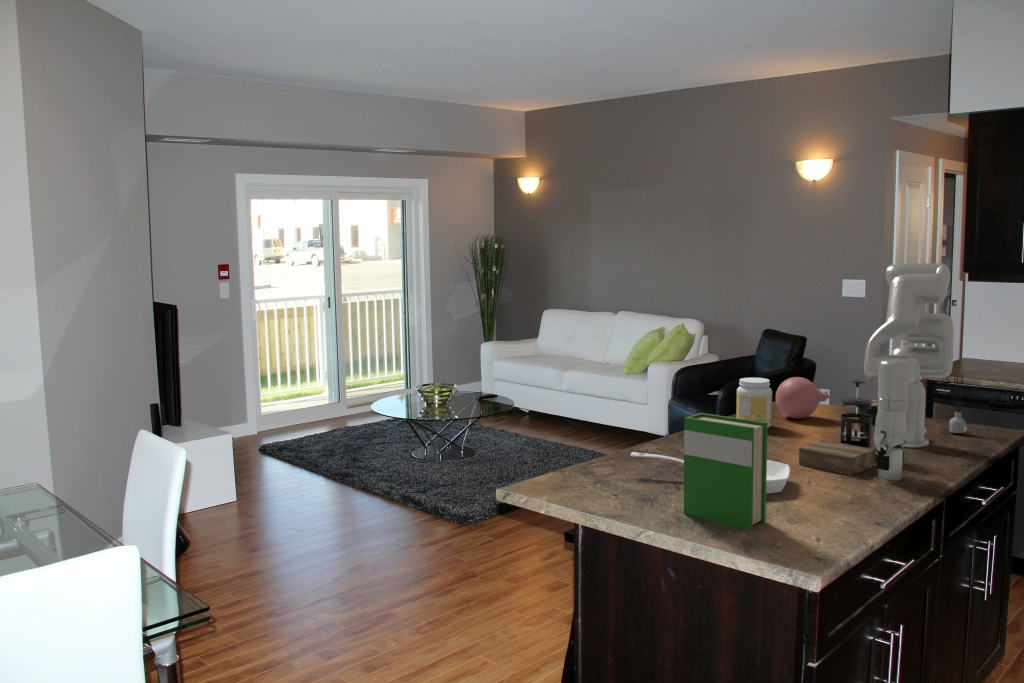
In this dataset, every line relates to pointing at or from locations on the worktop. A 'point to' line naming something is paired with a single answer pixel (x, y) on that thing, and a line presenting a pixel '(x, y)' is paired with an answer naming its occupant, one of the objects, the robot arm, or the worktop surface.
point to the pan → (774, 479)
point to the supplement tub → (754, 400)
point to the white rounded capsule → (893, 465)
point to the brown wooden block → (837, 457)
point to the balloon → (799, 397)
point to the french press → (857, 421)
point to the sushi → (871, 411)
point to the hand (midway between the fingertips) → (890, 466)
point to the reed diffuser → (957, 414)
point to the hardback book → (725, 469)
